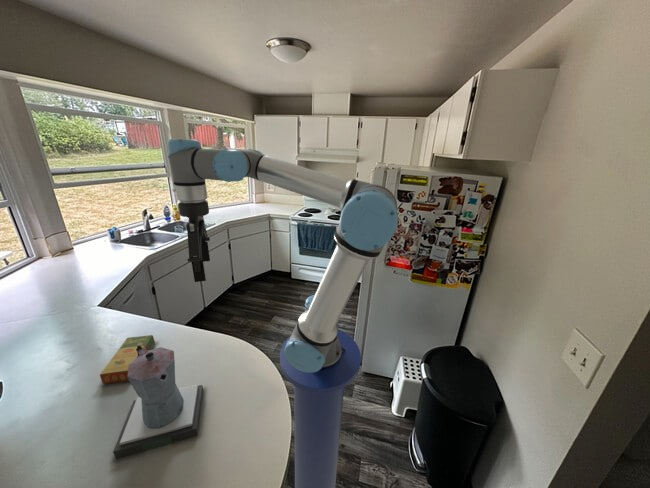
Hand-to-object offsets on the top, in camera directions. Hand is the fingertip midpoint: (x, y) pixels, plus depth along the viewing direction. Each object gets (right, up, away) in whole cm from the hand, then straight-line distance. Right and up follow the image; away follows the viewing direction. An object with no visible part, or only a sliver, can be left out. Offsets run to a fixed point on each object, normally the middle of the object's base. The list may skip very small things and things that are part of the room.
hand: (203, 270), depth 75 cm
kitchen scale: (-5, -39, -10) cm, 40 cm away
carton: (-27, -31, +7) cm, 42 cm away
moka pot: (-5, -36, -11) cm, 38 cm away
